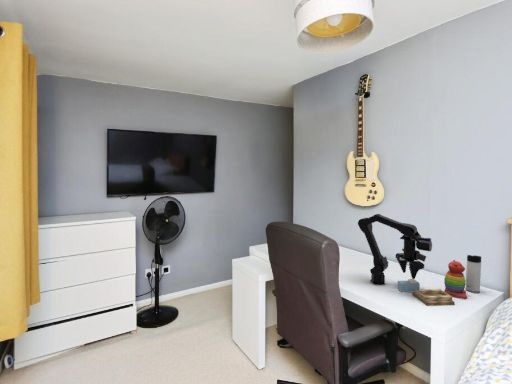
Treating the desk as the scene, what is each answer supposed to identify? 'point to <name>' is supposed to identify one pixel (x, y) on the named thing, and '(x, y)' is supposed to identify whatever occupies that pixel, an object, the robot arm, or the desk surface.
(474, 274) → the travel mug
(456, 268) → the stacking bear
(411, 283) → the blue slab
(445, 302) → the jig
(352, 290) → the desk surface
